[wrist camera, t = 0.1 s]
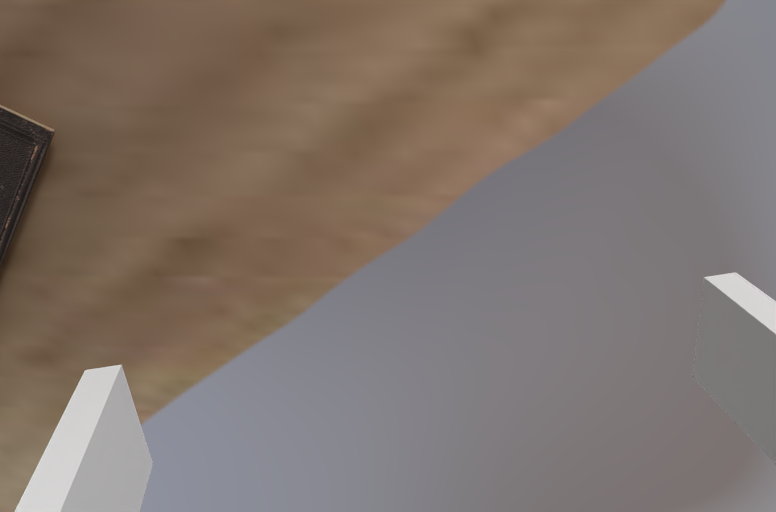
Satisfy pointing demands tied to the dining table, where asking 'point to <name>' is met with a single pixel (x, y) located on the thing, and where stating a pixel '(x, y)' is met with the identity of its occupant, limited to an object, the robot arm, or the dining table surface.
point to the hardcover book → (18, 167)
